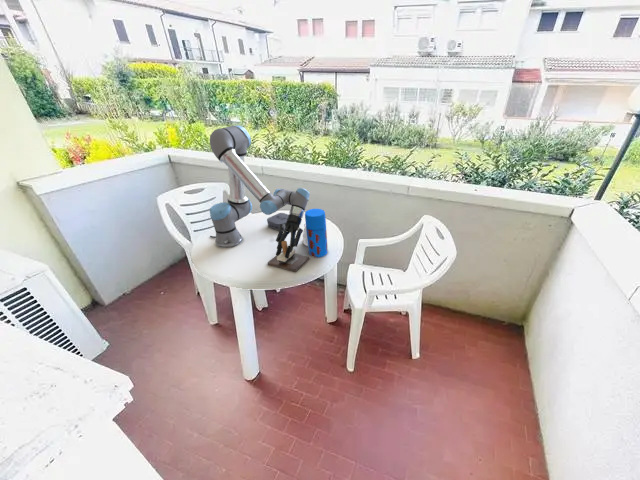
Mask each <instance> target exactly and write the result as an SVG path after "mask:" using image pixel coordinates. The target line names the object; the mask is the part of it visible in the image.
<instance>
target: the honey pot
mask: <svg viewBox="0 0 640 480" xmlns="http://www.w3.org/2000/svg"><path fill="white" fill-rule="evenodd" d="M303 226H304V228H303V232H302V242H303V245H304V246H306V247H308V239H307V230H306V222H305V223H304V225H303Z"/></svg>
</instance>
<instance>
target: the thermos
mask: <svg viewBox="0 0 640 480" xmlns="http://www.w3.org/2000/svg"><path fill="white" fill-rule="evenodd" d="M304 220H305V223H306V230H307V239H308V246H307V247H308V254H309V256H311V257H313V258H322V257H325V256H326V255H327V254H328V236H327V235H328V234H327V219H326V213H325V210H324V209H322V208H311V209H307V210H305V211H304Z"/></svg>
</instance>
